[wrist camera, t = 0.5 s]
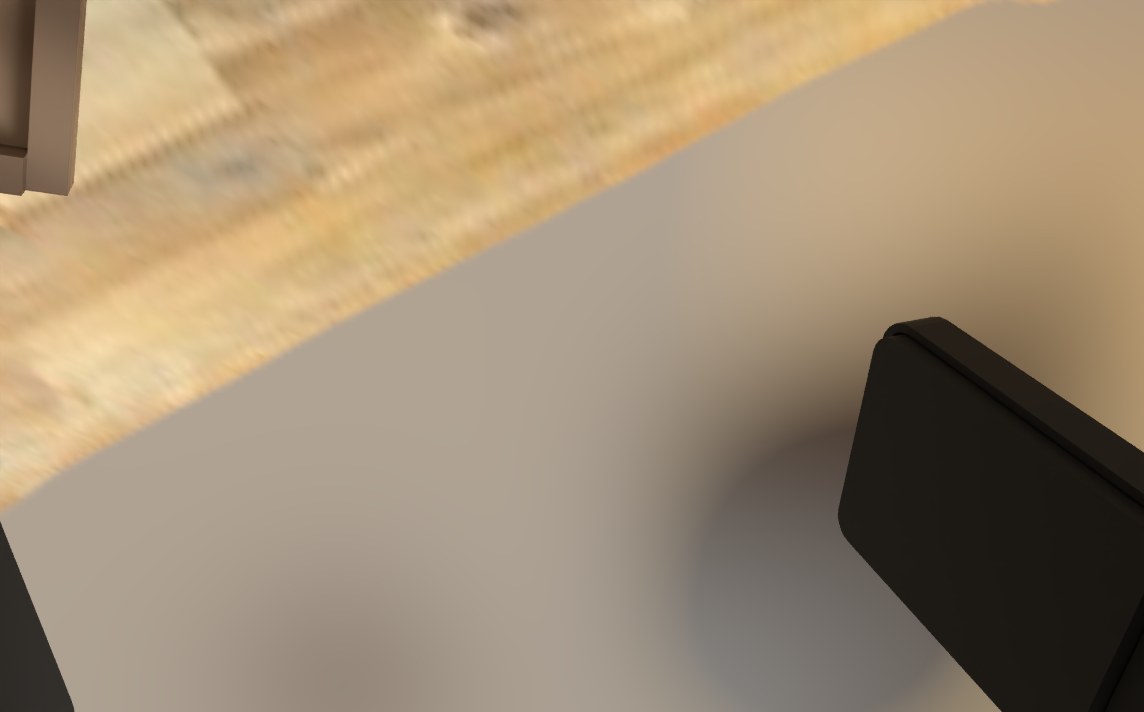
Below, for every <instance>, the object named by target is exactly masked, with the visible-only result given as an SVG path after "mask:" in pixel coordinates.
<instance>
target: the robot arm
mask: <svg viewBox="0 0 1144 712" xmlns="http://www.w3.org/2000/svg"><path fill="white" fill-rule="evenodd" d="M838 520H839V524H840V528H841V531H842V533H843V535H844V537H845V538H846V539H847V541H848V542H849V543H850V544H851V545H852V546H853V547H854V548H855V550H856V551H857V552H858V553H859V554H860V555H861V556H862V557H863V559H865V561H866V562H867V563H868V564H869V565H870V566H871V567H872V568H873V570H874V571H875V572H876V573H877V574H878V575H879V576H880V577H881V578H882V580H883V581H884V582H885V583H886V584H887V585H888V586H889V587H890V588H891V589H892V591H893V592H894V593H895V594H896V595H897V596H898V597H899V598H900V600H901V601H902V602H903V603H904V604H905V605H906V606H907V607H908V608H909V610H910V611H911V612H912V613H913V614H914V615H915V616H916V617H917V618H918V619H919V620H920V622H921V623H922V624H923V625H924V626H925V627H926V628H927V629H928V631H929V632H930V633H931V634H932V635H933V636H934V637H935V638H936V639H937V640H938V642H939V643H940V644H941V645H942V646H943V647H944V648H945V649H946V651H948V653H949V654H950V655H951V656H952V657H953V658H954V659H955V660H956V662H957V663H958V664H959V665H960V666H961V667H962V668H963V669H964V670H965V672H966V673H967V674H968V675H969V676H970V677H971V678H972V679H973V680H974V682H976V684H977V685H978V686H979V687H980V688H981V689H982V690H983V692H984V693H985V694H986V695H987V696H988V697H989V698H990V699H991V700H992V701H993V703H994V704H995V705H996V706H997V707H998V708H999V709H1000V710H1001V711H1002V712H1144V452H1142V451H1141V450H1139V449H1138V448H1136V447H1135V446H1133V445H1132V444H1130V443H1129V442H1127V441H1126V440H1124V439H1123V438H1121V437H1120V436H1118V435H1117V434H1116V433H1114V432H1113V431H1111V430H1110V429H1108V428H1106V427H1105V426H1103V425H1102V424H1101V423H1099V422H1098V421H1096V420H1095V419H1093V418H1092V417H1090V416H1089V415H1087V414H1086V413H1084V412H1083V411H1081V410H1080V409H1078V408H1077V407H1075V406H1074V405H1072V404H1071V403H1069V402H1068V401H1066V400H1065V399H1063V398H1062V397H1060V396H1059V395H1057V394H1056V393H1055V392H1053V391H1052V390H1050V389H1048V388H1047V387H1046V386H1044V385H1043V384H1041V383H1040V382H1038V381H1037V380H1035V379H1034V378H1032V377H1031V376H1029V375H1028V374H1026V373H1025V372H1023V371H1022V370H1020V369H1019V368H1017V367H1016V366H1015V365H1013V364H1011V363H1010V362H1008V361H1007V360H1006V359H1004V358H1003V357H1001V356H1000V355H998V354H997V353H995V352H993V351H992V350H991V349H989V348H987V347H986V346H985V345H983V344H982V343H980V342H979V341H977V340H976V339H974V338H973V337H971V336H970V335H968V334H967V333H965V332H964V331H962V330H961V329H959V328H958V327H957V326H955V325H954V324H952V323H951V322H949V321H947V320H945V319H943V318H941V317H929V318H924V319H918V320H913V321H907V322H901V323H896V324H894V325H892V326H890V327H889V328H888V329H887V331H886V332H885V334H884V337H883V339H881V340H879V341H878V343H877V344H876V345H875V348H874V351H873V355H872V359H871V364H870V369H869V373H868V378H867V382H866V387H865V391H864V396H863V400H862V405H861V409H860V414H859V418H858V423H857V427H856V432H855V437H854V441H853V445H852V450H851V455H850V459H849V464H848V468H847V473H846V477H845V482H844V486H843V491H842V495H841V500H840V505H839V509H838ZM0 712H74V707H73V704H72V701H71V698H70V696H69V694H68V691H67V688H66V686H65V683H64V680H63V678H62V676H61V673H60V670H59V668H58V665H57V663H56V660H55V658H54V656H53V653H52V650H51V648H50V646H49V643H48V640H47V638H46V635H45V633H44V630H43V628H42V625H41V623H40V620H39V618H38V615H37V613H36V611H35V608H34V605H33V603H32V600H31V598H30V595H29V593H28V591H27V588H26V585H25V583H24V580H23V578H22V575H21V573H20V570H19V568H18V565H17V563H16V560H15V558H14V555H13V553H12V550H11V548H10V545H9V543H8V540H7V538H6V535H5V533H4V530H3V528H2V525H1V523H0Z"/></svg>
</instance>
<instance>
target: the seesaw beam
mask: <svg viewBox="0 0 1144 712" xmlns="http://www.w3.org/2000/svg"><path fill="white" fill-rule="evenodd" d="M86 2H87V0H0V193H5V194H12V195H19V196H22V194H23V193H24V191H25V190H29V191H36V192H43V193H50V194H57V195H64V196H67V195H68V193H69V191H70V189H71V187H72V185H73V183H74V171H75V157H76V143H77V129H78V115H79V100H80V86H81V72H82V58H83V44H84V30H85V16H86Z"/></svg>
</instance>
